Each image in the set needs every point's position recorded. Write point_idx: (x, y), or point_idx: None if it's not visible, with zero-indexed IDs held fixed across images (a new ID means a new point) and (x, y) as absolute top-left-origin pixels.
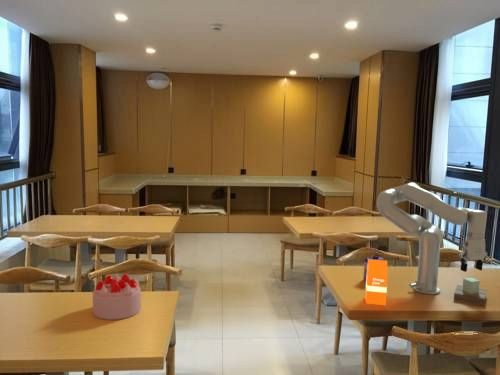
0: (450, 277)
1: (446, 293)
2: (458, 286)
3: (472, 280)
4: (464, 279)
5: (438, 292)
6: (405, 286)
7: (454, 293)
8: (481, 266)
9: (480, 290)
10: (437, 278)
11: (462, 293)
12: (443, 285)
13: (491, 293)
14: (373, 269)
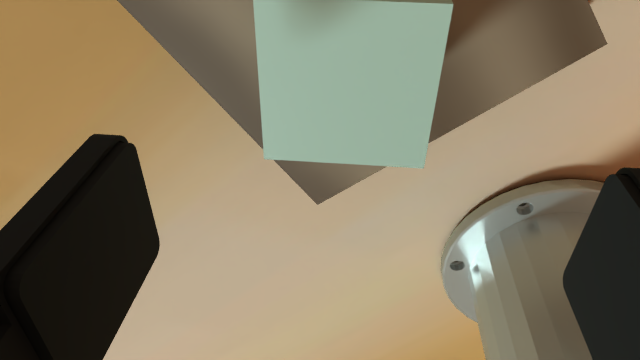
0: (141, 342)
1: (455, 164)
2: (341, 176)
3: (368, 56)
4: (424, 146)
5: (542, 187)
6: None
7: (605, 41)
8: (70, 196)
9: (192, 7)
10: (554, 310)
11: (518, 2)
12: (314, 276)
13: (11, 26)
14: None
